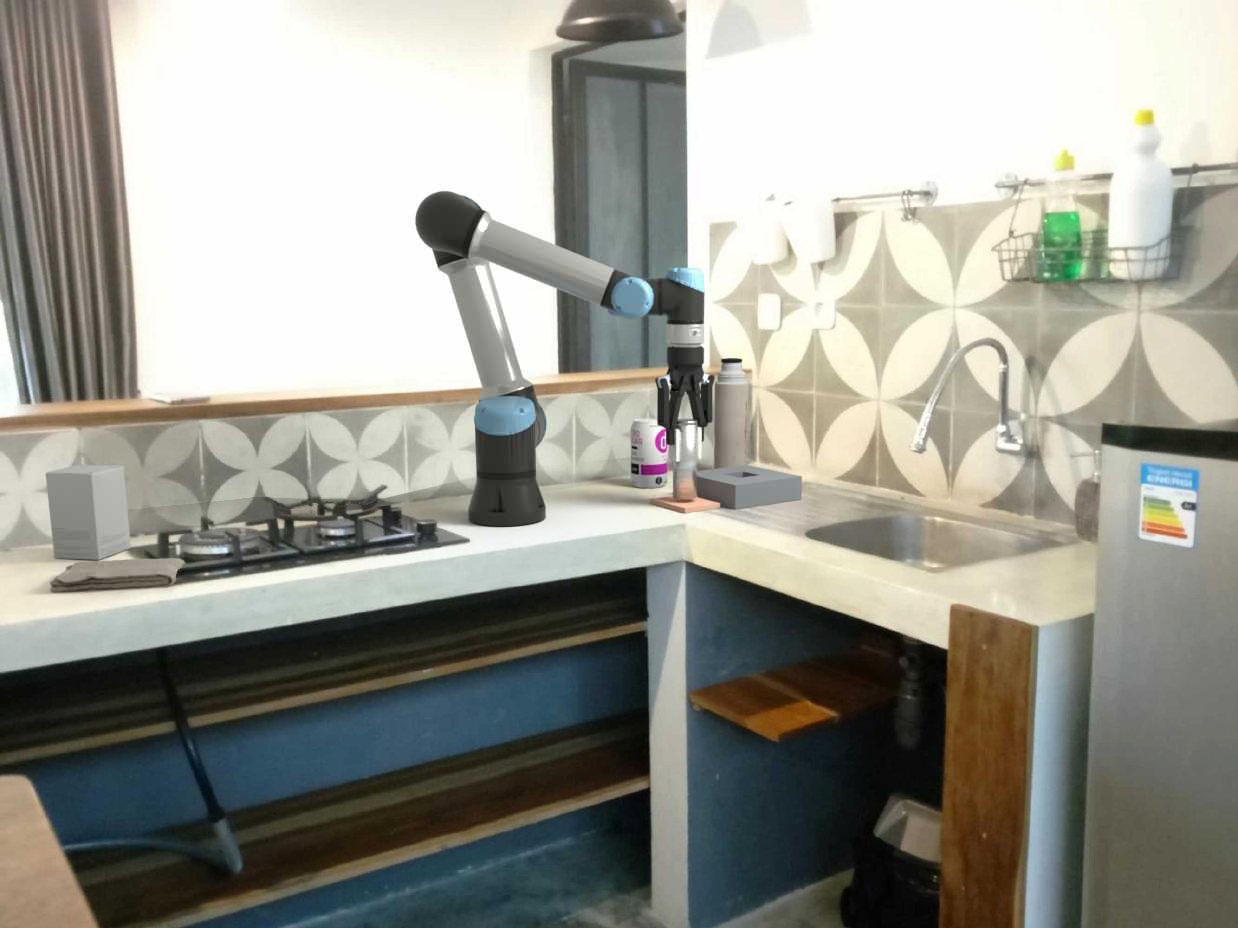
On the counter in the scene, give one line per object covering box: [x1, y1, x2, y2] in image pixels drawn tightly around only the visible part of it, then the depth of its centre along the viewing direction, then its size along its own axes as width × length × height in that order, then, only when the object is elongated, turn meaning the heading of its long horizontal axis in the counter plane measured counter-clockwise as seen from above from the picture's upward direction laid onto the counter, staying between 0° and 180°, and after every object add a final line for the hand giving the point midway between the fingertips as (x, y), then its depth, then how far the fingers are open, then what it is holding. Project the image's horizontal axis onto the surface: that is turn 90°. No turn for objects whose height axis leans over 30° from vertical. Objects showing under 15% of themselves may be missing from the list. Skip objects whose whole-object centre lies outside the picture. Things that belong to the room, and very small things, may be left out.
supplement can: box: [630, 417, 668, 489], centre depth 247 cm, size 8×8×15 cm
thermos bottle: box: [713, 357, 750, 469], centre depth 257 cm, size 8×8×28 cm
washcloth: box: [49, 557, 186, 594], centre depth 171 cm, size 12×18×3 cm, turn 102°
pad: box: [650, 495, 721, 514], centre depth 225 cm, size 9×12×1 cm
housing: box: [697, 464, 803, 510], centre depth 233 cm, size 18×18×5 cm
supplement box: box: [45, 464, 132, 561], centre depth 187 cm, size 9×9×15 cm
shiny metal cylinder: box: [672, 418, 698, 499], centre depth 224 cm, size 5×5×16 cm
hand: (685, 459), depth 224 cm, fingers closed on shiny metal cylinder, 5 cm apart
